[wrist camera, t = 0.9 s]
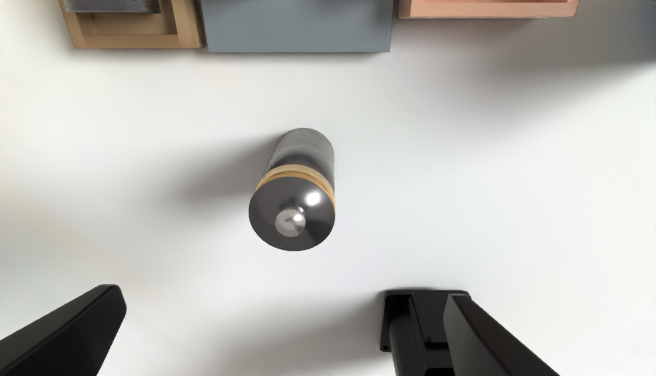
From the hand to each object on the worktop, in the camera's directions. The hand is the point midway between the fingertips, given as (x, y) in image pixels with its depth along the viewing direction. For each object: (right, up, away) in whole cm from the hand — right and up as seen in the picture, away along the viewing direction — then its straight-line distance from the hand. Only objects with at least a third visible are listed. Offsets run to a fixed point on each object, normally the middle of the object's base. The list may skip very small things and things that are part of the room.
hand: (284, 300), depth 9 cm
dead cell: (0, +5, +11) cm, 12 cm away
